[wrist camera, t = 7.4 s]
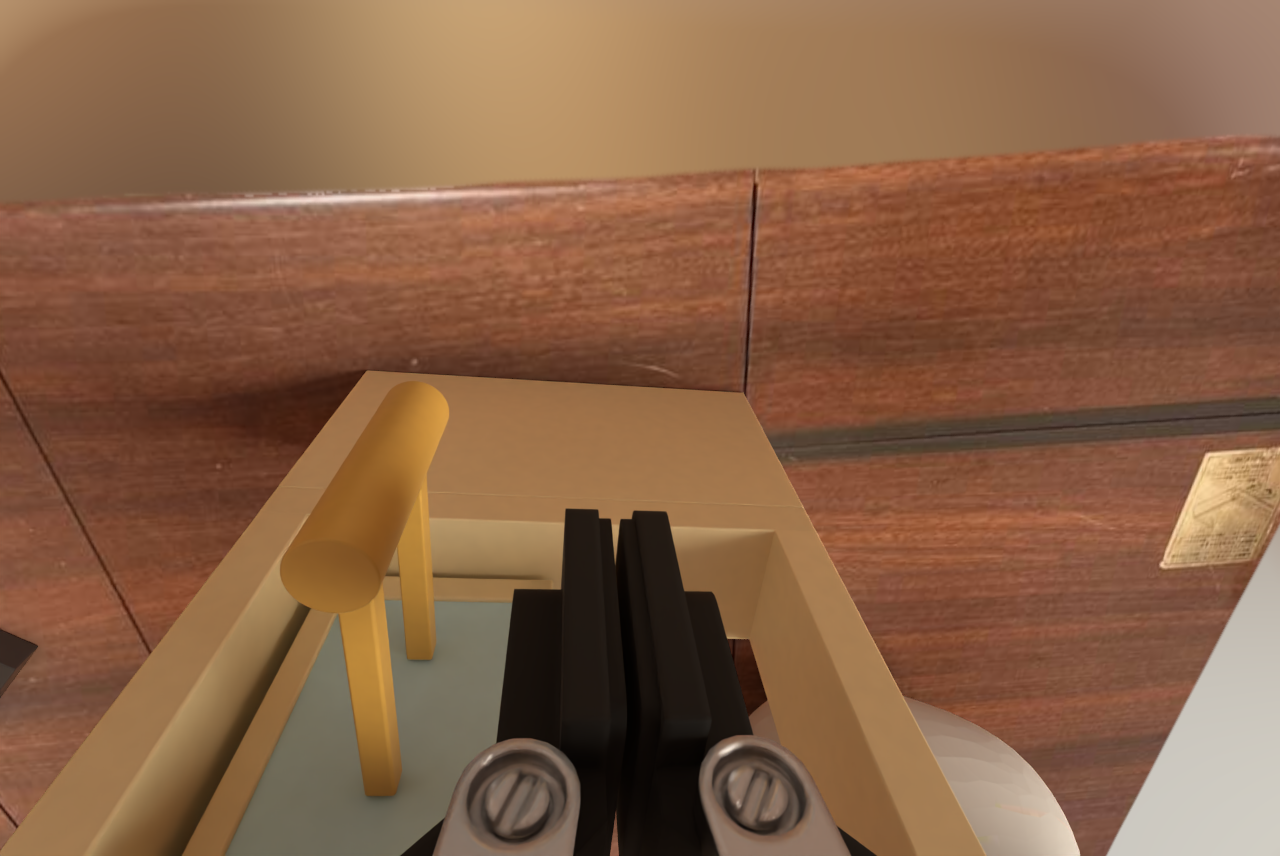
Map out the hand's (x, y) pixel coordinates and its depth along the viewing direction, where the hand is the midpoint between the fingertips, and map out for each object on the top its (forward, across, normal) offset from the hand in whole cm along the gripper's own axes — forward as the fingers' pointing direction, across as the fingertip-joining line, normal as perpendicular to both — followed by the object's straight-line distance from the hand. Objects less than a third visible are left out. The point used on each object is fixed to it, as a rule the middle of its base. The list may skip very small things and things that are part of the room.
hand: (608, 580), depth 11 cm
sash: (+9, +4, +4) cm, 10 cm away
